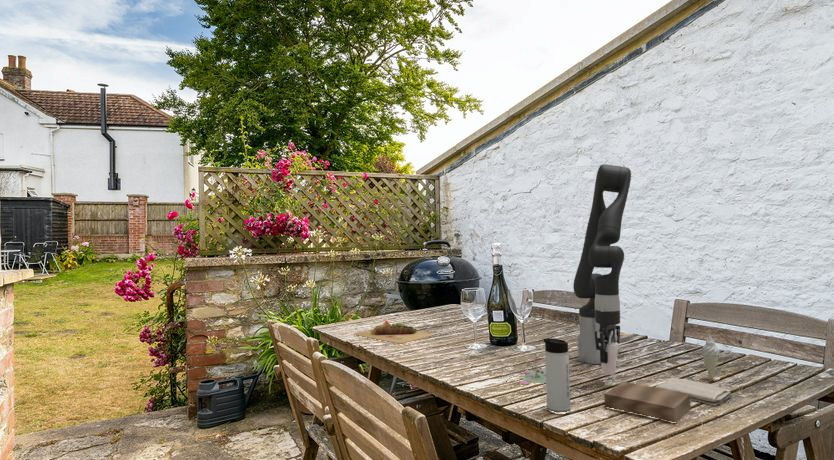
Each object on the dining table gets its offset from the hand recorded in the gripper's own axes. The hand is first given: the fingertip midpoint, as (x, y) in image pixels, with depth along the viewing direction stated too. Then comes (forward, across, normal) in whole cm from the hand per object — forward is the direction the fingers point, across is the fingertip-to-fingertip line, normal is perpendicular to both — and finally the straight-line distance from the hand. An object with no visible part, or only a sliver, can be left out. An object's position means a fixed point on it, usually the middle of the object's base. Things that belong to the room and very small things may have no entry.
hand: (608, 360), depth 154 cm
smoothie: (+4, 0, 0) cm, 4 cm away
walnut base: (+8, +13, +16) cm, 22 cm away
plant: (+9, +12, -21) cm, 26 cm away
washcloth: (+8, -7, +22) cm, 25 cm away
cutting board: (+11, -9, -113) cm, 114 cm away
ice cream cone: (+8, -27, +22) cm, 36 cm away
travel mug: (+8, +30, -1) cm, 31 cm away
